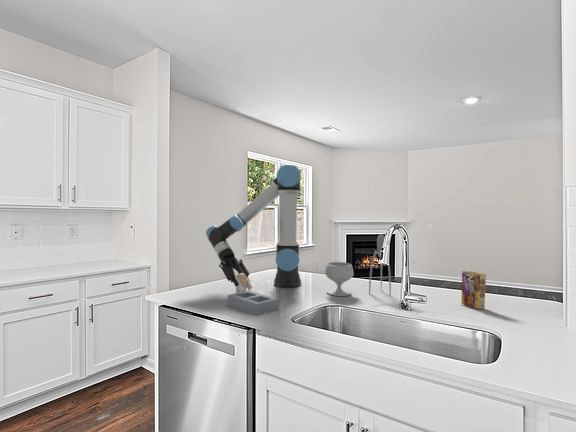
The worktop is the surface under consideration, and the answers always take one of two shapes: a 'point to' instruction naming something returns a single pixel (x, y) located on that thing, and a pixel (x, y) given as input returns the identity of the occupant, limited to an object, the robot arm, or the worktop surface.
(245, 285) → the peach dome-topped cylinder
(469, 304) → the candy box
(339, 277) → the chalice
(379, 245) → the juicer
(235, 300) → the divided tray
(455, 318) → the worktop surface
